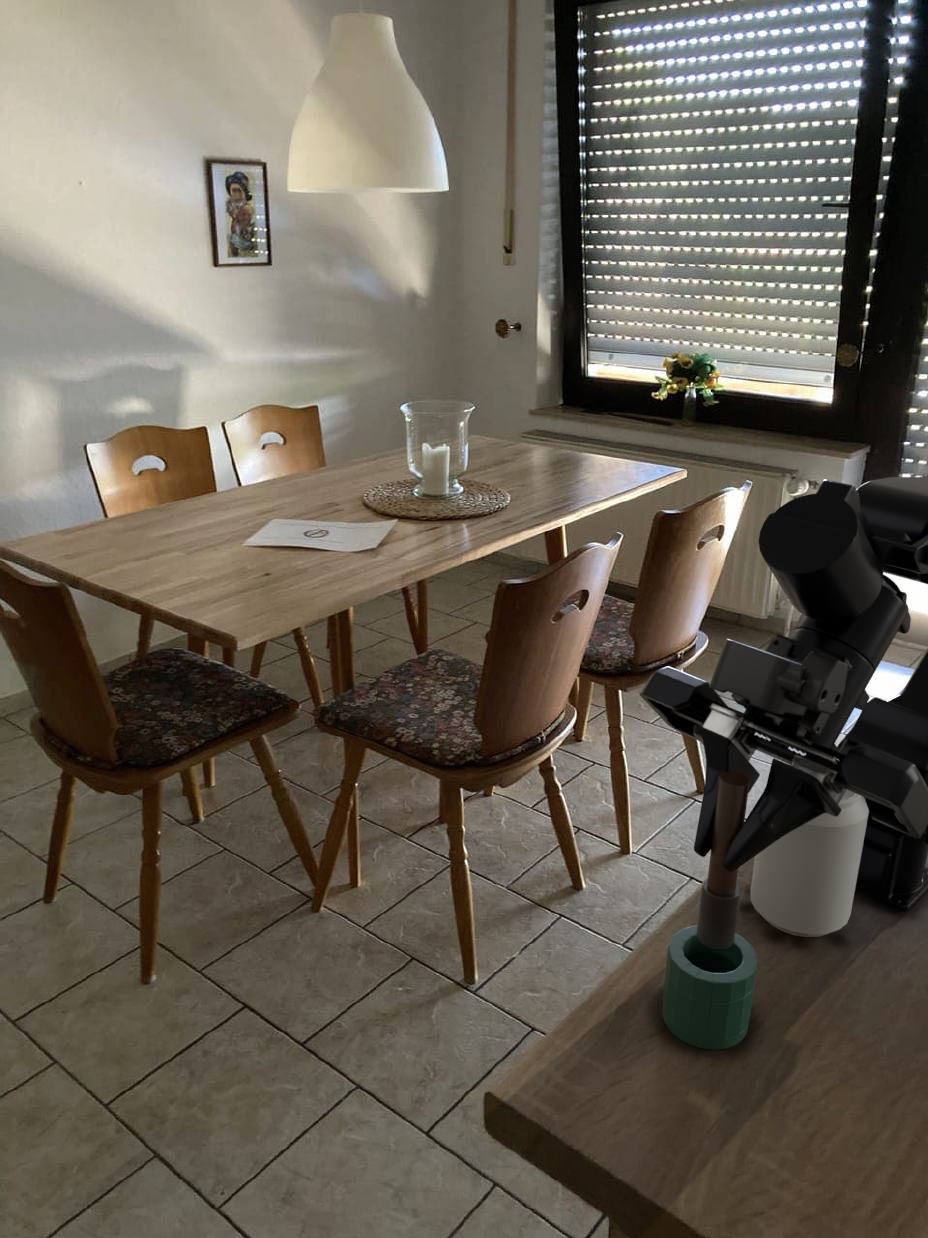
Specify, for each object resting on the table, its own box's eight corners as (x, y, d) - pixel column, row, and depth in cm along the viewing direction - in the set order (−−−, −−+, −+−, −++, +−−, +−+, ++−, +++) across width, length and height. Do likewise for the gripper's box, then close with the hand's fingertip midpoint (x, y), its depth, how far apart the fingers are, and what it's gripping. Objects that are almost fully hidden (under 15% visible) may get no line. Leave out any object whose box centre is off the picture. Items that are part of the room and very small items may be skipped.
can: (756, 874, 85) (773, 746, 81) (851, 897, 82) (875, 765, 78) (741, 929, 79) (759, 793, 74) (845, 955, 76) (870, 815, 71)
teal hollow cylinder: (692, 977, 74) (700, 913, 72) (764, 1019, 70) (773, 953, 68) (645, 1017, 70) (651, 952, 68) (717, 1064, 66) (726, 996, 64)
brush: (714, 921, 69) (733, 764, 64) (741, 941, 67) (763, 781, 63) (688, 933, 68) (706, 775, 63) (715, 954, 66) (735, 792, 61)
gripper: (668, 552, 68) (544, 754, 65) (948, 637, 55) (806, 893, 52) (727, 633, 75) (618, 816, 73) (985, 724, 62) (863, 951, 60)
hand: (712, 861), depth 64 cm, fingers closed on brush, 2 cm apart
